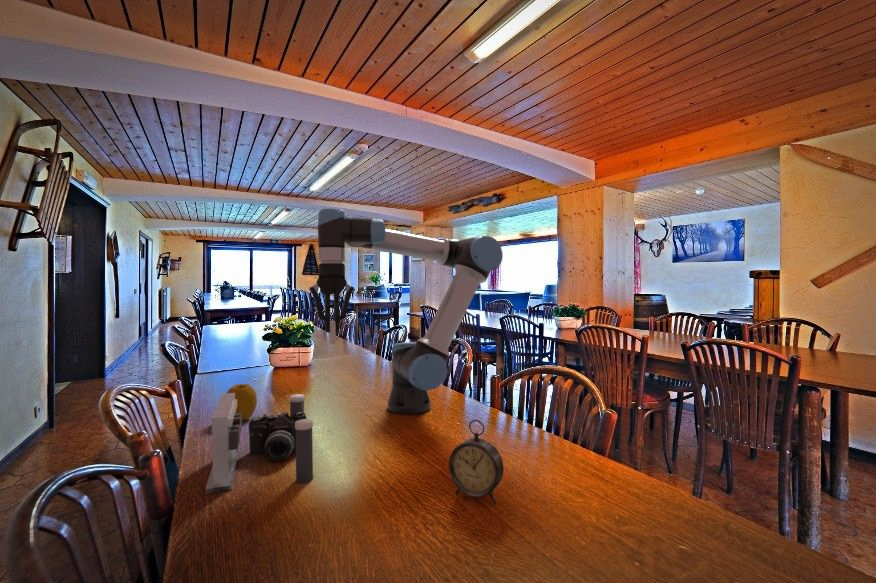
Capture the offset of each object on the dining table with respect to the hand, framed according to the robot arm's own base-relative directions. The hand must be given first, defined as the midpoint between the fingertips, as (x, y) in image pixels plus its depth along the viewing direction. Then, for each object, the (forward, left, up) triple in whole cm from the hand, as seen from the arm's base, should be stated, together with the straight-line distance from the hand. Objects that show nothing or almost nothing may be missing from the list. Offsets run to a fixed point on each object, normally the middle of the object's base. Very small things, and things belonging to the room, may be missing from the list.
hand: (332, 343), depth 123 cm
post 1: (+10, +5, -26) cm, 29 cm away
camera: (+16, +11, -27) cm, 33 cm away
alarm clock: (-23, +48, -27) cm, 60 cm away
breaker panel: (+27, +16, -26) cm, 41 cm away
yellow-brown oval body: (+26, -22, -27) cm, 43 cm away
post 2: (+10, +27, -26) cm, 39 cm away
